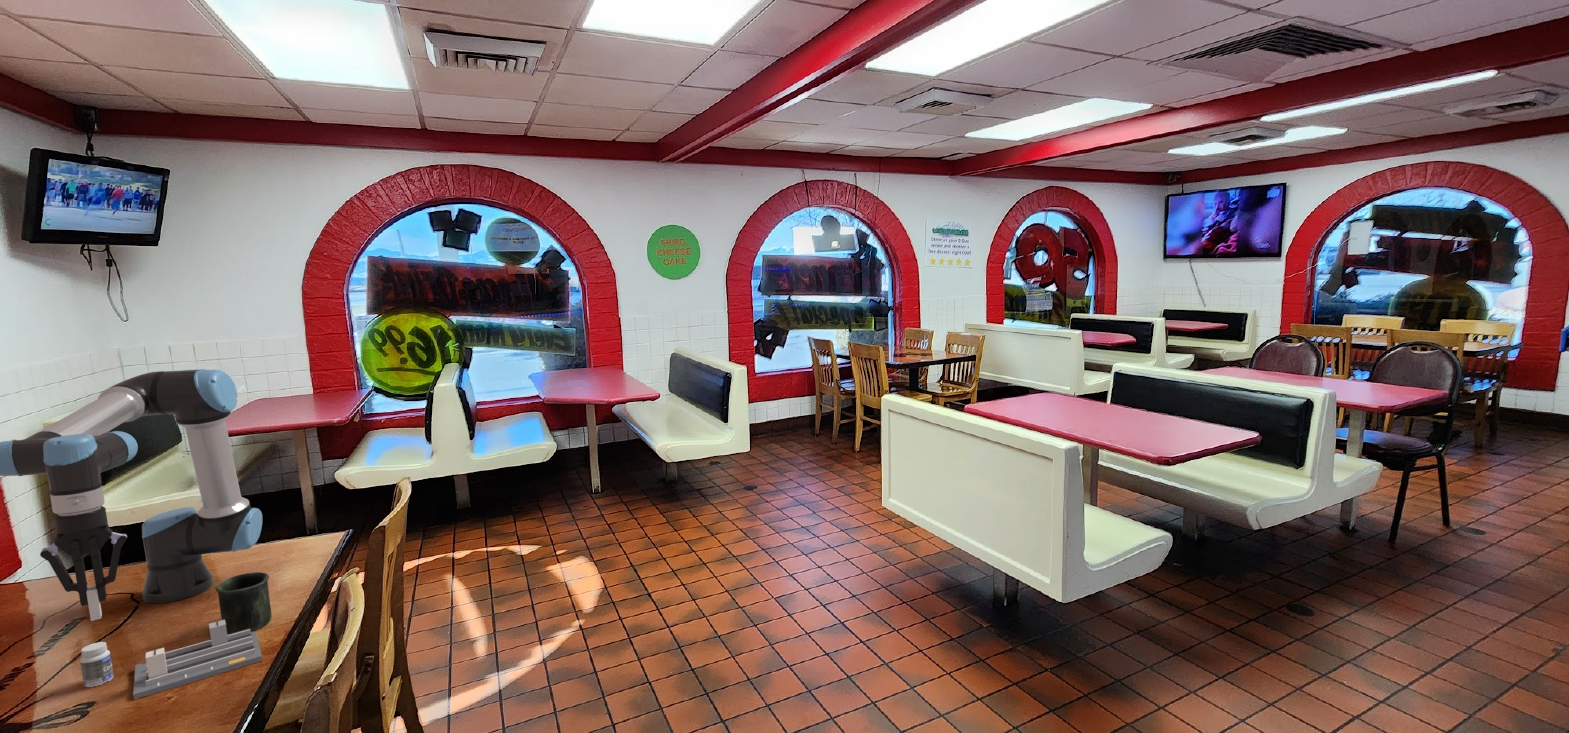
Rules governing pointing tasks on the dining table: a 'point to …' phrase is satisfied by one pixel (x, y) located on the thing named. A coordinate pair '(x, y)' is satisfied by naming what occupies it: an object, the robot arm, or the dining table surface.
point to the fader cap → (156, 663)
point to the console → (201, 660)
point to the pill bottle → (96, 664)
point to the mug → (245, 602)
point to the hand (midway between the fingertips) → (96, 617)
